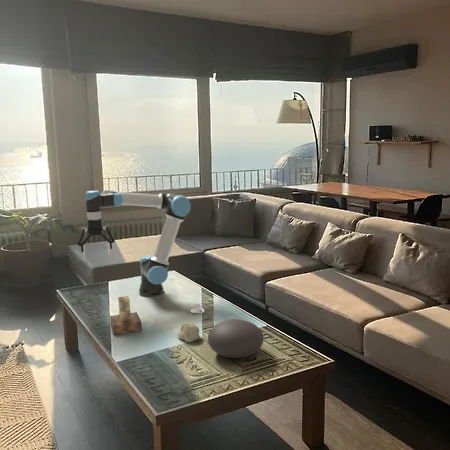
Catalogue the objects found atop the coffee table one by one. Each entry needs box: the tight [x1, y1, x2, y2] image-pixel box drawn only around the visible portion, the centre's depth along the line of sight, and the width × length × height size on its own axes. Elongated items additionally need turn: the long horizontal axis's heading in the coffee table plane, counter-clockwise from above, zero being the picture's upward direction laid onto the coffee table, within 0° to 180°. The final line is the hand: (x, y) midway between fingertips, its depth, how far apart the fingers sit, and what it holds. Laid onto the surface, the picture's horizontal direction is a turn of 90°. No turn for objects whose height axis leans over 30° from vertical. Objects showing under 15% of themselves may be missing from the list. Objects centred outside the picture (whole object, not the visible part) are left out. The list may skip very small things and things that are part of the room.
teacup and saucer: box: [190, 303, 205, 314], centre depth 275 cm, size 9×8×4 cm
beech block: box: [117, 295, 131, 321], centre depth 252 cm, size 5×5×11 cm
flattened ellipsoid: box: [207, 318, 264, 359], centre depth 220 cm, size 25×25×15 cm
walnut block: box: [109, 312, 143, 336], centre depth 253 cm, size 14×14×5 cm
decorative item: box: [177, 322, 200, 343], centre depth 240 cm, size 12×9×10 cm
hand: (97, 256), depth 277 cm, fingers open, 13 cm apart
